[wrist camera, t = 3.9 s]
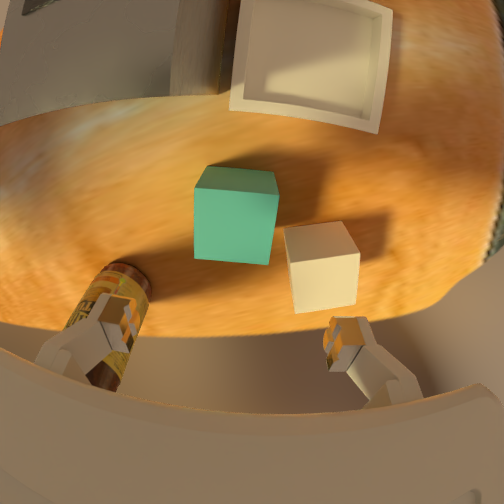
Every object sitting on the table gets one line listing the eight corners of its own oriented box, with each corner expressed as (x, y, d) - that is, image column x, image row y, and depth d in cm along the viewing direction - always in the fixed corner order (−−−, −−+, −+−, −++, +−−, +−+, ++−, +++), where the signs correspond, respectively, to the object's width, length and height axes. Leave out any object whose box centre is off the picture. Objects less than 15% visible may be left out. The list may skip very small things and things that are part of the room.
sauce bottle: (123, 248, 23) (24, 451, 7) (166, 292, 26) (113, 492, 10) (89, 276, 25) (6, 440, 9) (127, 313, 28) (73, 477, 12)
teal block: (205, 224, 22) (194, 258, 18) (207, 165, 20) (194, 188, 15) (265, 229, 23) (268, 264, 18) (273, 171, 20) (279, 195, 16)
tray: (231, 108, 17) (228, 110, 15) (245, -13, 12) (244, -24, 10) (365, 129, 18) (377, 134, 16) (379, 16, 12) (392, 10, 10)
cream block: (288, 275, 25) (295, 313, 21) (283, 227, 23) (290, 262, 18) (340, 267, 25) (355, 304, 21) (341, 220, 22) (360, 252, 18)
